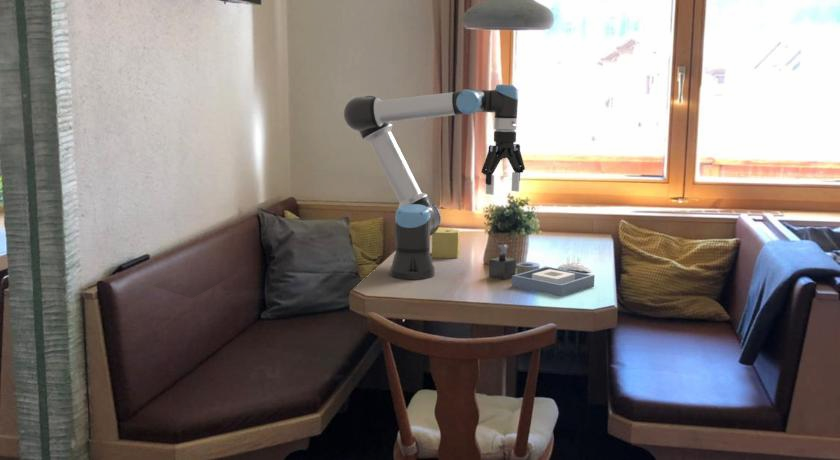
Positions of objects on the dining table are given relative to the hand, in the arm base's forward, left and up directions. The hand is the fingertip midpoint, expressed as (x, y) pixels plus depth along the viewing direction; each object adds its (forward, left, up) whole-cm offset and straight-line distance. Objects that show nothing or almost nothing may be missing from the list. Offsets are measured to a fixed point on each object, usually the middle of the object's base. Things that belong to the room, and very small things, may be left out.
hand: (502, 192), depth 296 cm
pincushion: (+18, -18, -28) cm, 38 cm away
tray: (-5, -26, -28) cm, 38 cm away
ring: (-6, -26, -27) cm, 37 cm away
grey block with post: (-6, -6, -28) cm, 29 cm away
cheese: (+7, +31, -28) cm, 43 cm away
